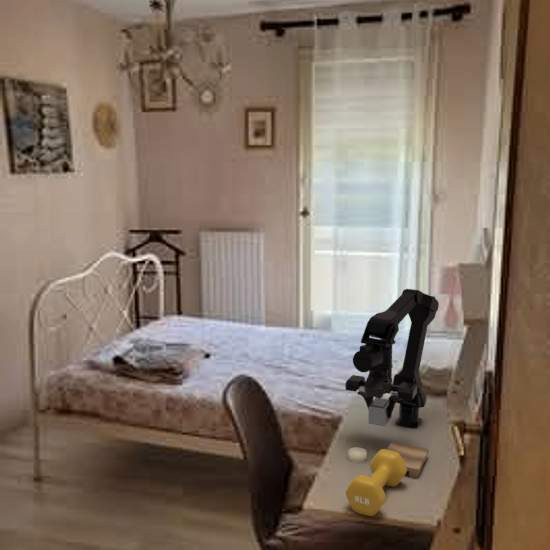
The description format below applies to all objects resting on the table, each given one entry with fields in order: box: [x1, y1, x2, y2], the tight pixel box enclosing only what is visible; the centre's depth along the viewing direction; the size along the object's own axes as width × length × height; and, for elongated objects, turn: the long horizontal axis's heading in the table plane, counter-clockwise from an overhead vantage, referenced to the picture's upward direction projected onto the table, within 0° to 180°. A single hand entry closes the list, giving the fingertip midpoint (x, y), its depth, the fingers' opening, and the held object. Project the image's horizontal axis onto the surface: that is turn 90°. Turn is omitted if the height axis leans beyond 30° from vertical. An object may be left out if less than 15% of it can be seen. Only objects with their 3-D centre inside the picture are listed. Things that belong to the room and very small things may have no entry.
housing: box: [367, 397, 393, 427], centre depth 166 cm, size 7×5×5 cm, turn 154°
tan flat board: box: [386, 441, 430, 479], centre depth 156 cm, size 12×10×2 cm
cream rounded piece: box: [347, 446, 368, 464], centre depth 160 cm, size 5×5×2 cm
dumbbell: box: [345, 448, 408, 517], centre depth 141 cm, size 19×9×8 cm, turn 149°
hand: (380, 416), depth 167 cm, fingers closed on housing, 5 cm apart
